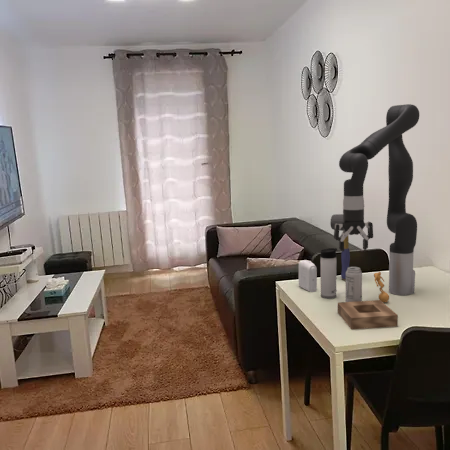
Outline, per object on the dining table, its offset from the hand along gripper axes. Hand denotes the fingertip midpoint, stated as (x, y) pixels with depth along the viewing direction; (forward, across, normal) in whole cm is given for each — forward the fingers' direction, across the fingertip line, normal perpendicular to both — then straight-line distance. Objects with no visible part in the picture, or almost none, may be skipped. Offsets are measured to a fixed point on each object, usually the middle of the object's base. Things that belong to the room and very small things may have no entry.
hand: (353, 250), depth 185 cm
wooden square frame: (+22, 0, +14) cm, 26 cm away
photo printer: (+22, +12, -25) cm, 35 cm away
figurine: (+22, -12, -3) cm, 25 cm away
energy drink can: (+22, 0, 0) cm, 22 cm away
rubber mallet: (+22, -7, -35) cm, 42 cm away
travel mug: (+22, +6, -13) cm, 26 cm away
